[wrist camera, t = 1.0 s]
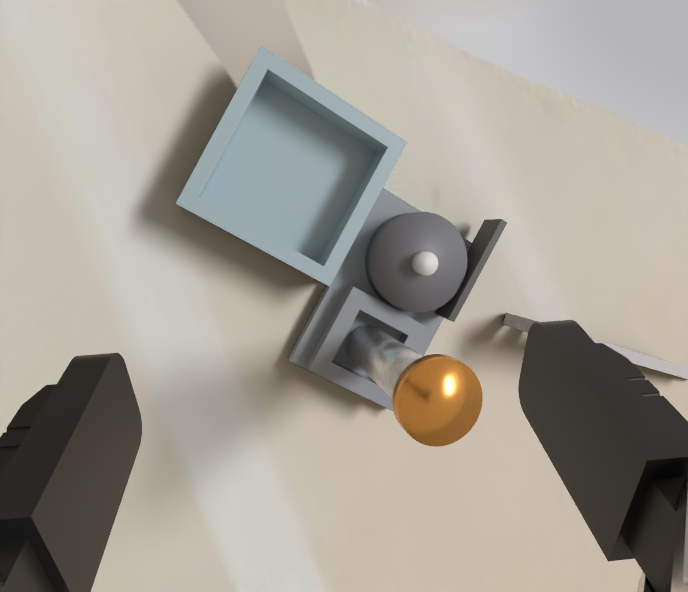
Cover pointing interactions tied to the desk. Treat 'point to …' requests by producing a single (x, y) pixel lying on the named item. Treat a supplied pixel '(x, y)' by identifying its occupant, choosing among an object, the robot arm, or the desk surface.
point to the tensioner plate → (358, 313)
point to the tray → (292, 168)
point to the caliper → (633, 356)
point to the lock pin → (419, 386)
